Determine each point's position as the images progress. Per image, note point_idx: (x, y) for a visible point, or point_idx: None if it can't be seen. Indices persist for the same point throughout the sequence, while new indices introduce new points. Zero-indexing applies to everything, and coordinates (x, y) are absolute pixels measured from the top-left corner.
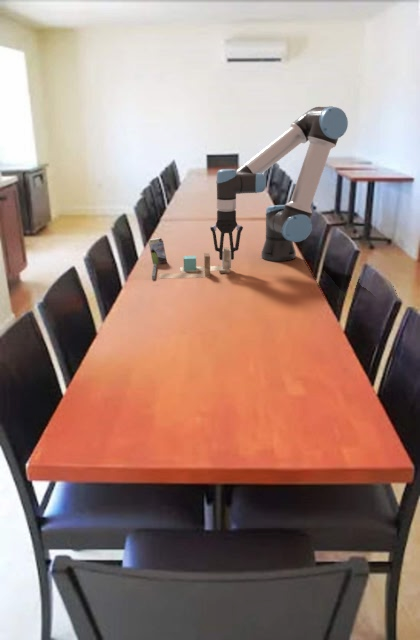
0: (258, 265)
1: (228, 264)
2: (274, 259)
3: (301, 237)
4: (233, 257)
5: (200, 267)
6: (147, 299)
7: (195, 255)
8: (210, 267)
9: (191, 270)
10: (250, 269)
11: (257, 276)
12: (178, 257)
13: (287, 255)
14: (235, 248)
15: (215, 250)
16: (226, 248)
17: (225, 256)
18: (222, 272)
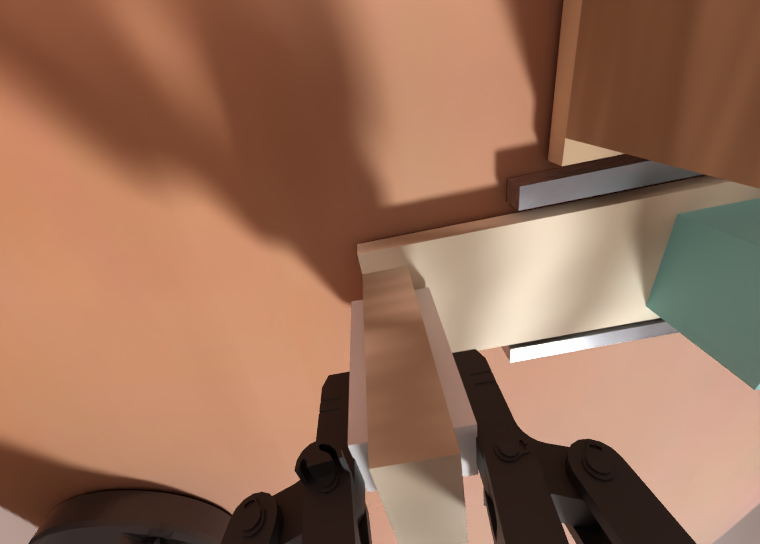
0: (197, 426)
1: (374, 302)
2: (129, 500)
3: None
4: (325, 396)
5: (611, 304)
6: None
7: (757, 389)
8: (529, 313)
9: (727, 205)
10: (216, 351)
11: (48, 161)
12: (649, 475)
13: (39, 539)
14: (275, 531)
15: (607, 446)
16: (427, 521)
17: (421, 365)
18: (423, 232)
